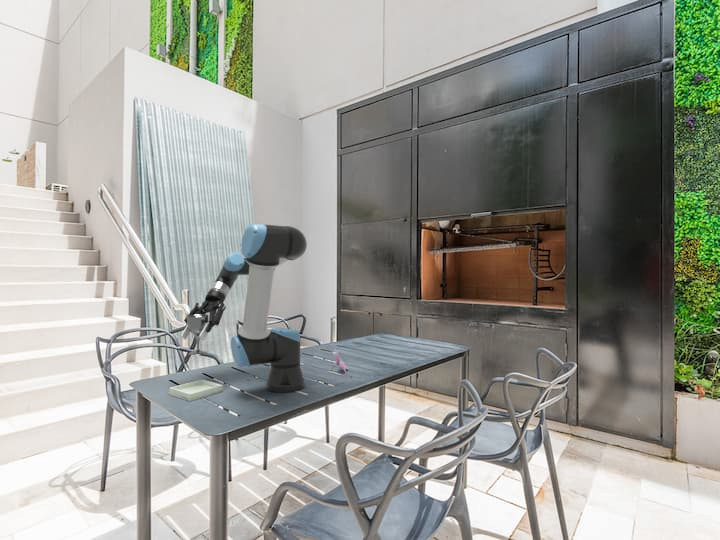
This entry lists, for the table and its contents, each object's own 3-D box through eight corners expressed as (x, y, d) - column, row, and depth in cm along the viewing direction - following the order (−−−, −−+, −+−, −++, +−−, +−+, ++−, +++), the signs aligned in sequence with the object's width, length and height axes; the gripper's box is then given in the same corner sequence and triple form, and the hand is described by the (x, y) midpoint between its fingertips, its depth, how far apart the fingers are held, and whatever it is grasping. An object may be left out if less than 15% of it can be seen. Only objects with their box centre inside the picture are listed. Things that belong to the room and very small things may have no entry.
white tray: (222, 391, 149) (222, 385, 149) (189, 401, 138) (189, 394, 138) (202, 385, 157) (202, 379, 157) (169, 394, 146) (169, 387, 146)
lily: (336, 379, 170) (347, 359, 171) (317, 365, 176) (327, 346, 177) (348, 380, 181) (358, 362, 182) (330, 367, 187) (339, 350, 188)
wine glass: (182, 354, 154) (182, 316, 154) (199, 350, 161) (199, 314, 161) (196, 355, 150) (196, 317, 151) (213, 352, 157) (212, 314, 158)
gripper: (241, 300, 168) (219, 344, 152) (201, 300, 174) (175, 342, 158) (234, 288, 163) (210, 332, 147) (192, 288, 169) (165, 331, 153)
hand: (192, 337), depth 153 cm, fingers closed on wine glass, 8 cm apart
